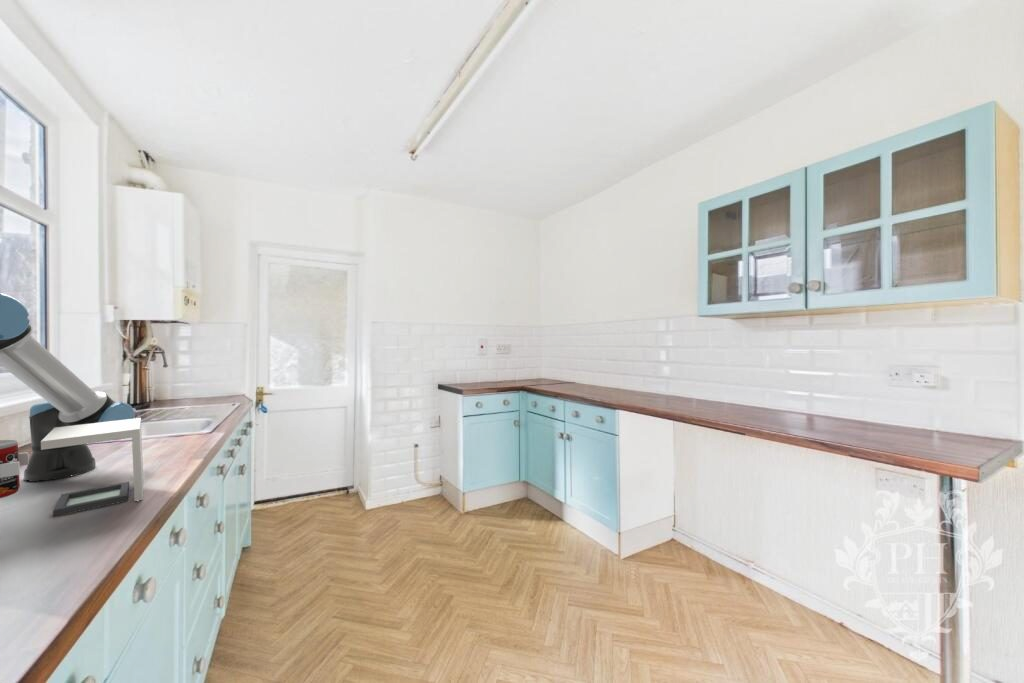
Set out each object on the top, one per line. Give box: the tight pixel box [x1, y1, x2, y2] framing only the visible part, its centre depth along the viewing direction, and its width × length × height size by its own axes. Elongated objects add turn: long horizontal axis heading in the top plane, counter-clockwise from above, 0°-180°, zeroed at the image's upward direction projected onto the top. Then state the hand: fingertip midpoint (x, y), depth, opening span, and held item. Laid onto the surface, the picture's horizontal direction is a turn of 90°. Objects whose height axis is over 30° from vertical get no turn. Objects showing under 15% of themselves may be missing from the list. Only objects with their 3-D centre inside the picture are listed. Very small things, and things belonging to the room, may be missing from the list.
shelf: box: [41, 417, 144, 502], centre depth 108 cm, size 17×18×19 cm
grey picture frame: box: [52, 481, 130, 517], centre depth 107 cm, size 13×13×2 cm
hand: (23, 463), depth 89 cm, fingers closed on canned food, 8 cm apart
